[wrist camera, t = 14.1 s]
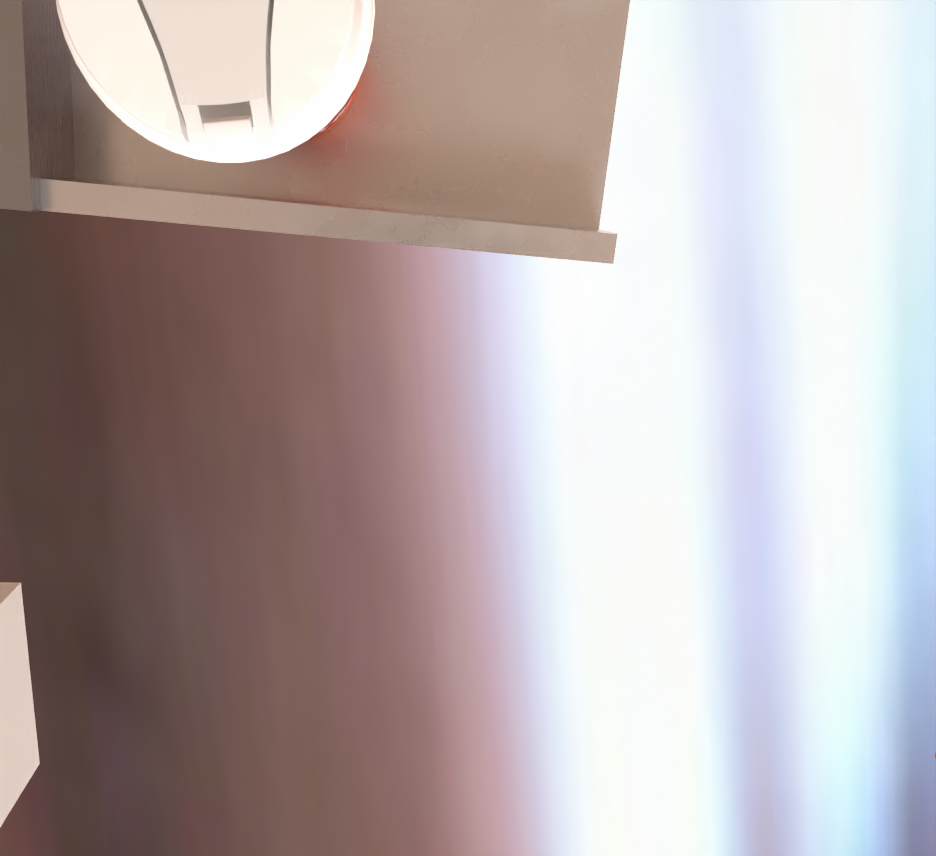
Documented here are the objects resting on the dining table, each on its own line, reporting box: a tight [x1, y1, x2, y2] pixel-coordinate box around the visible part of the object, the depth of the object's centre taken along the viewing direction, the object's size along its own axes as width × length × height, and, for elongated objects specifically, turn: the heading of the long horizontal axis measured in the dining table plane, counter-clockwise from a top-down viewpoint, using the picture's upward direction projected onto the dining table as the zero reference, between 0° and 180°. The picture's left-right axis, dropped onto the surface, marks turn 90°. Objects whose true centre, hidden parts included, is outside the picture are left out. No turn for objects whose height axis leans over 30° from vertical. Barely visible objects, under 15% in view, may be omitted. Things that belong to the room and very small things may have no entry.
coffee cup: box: [56, 0, 375, 163], centre depth 28 cm, size 8×8×15 cm
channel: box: [0, 0, 630, 264], centre depth 33 cm, size 24×13×5 cm, turn 84°
